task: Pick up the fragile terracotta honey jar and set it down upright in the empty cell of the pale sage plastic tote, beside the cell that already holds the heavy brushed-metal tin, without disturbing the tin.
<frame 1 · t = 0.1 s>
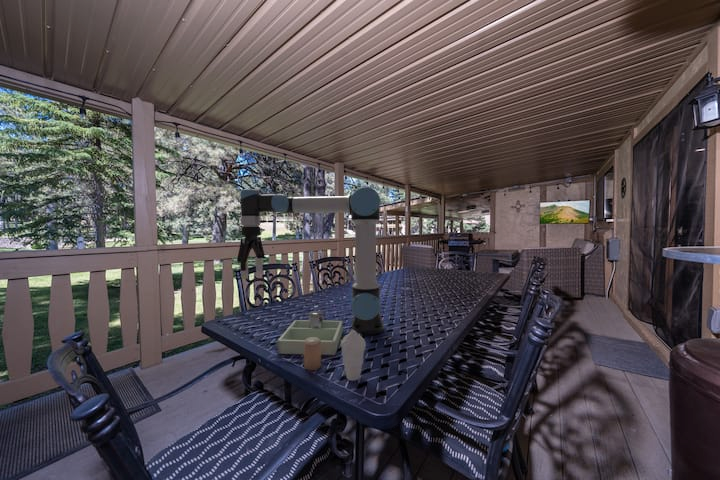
hand: (252, 275, 117), 28 cm above the table, fingers open, 13 cm apart
tin: (316, 335, 119), point 1 cm above the table, touching tote
jar: (312, 365, 95), on the table
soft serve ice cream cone: (353, 377, 88), on the table
tote: (313, 343, 113), on the table
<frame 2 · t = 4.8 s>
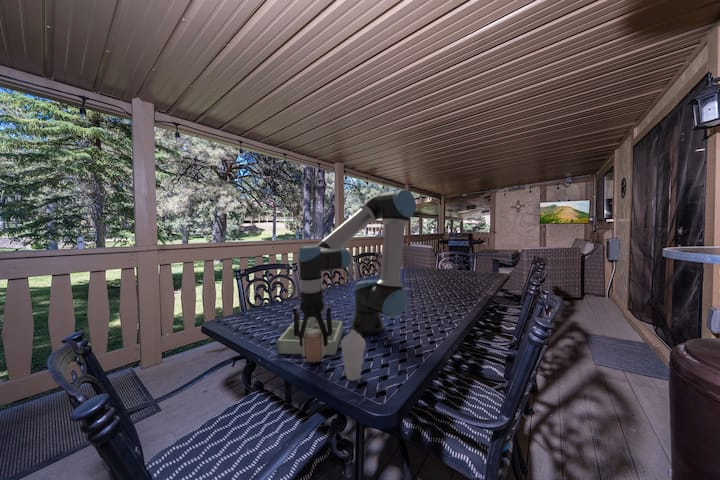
hand: (314, 354, 96), 4 cm above the table, fingers closed on jar, 6 cm apart
jar: (314, 357, 96), point 3 cm above the table, touching gripper
everything else where it was.
when the fingers open (2 cm above the table, at t = 8.9 s): jar stays where it is, resting on tote.
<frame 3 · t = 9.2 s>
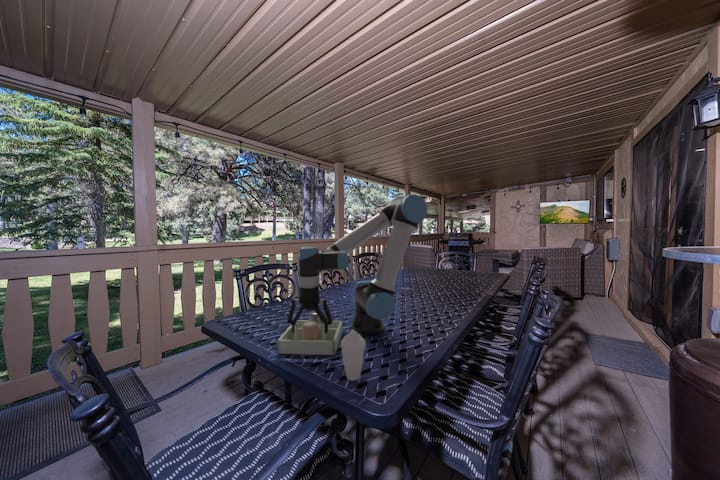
hand: (310, 340, 108), 3 cm above the table, fingers open, 10 cm apart
jar: (310, 346, 108), point 1 cm above the table, touching tote
everything else where it was.
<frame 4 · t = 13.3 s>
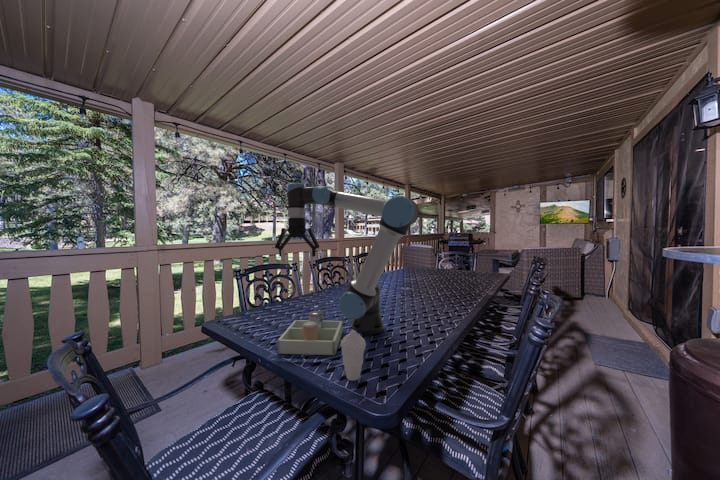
hand: (297, 263, 125), 32 cm above the table, fingers open, 13 cm apart
nothing on the table moved.
at the end: jar inside the target area on the tote (0.2 cm from its centre), point 1.0 cm above the tote's base; jar tilted 0°; tin moved 0.0 cm from its start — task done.
